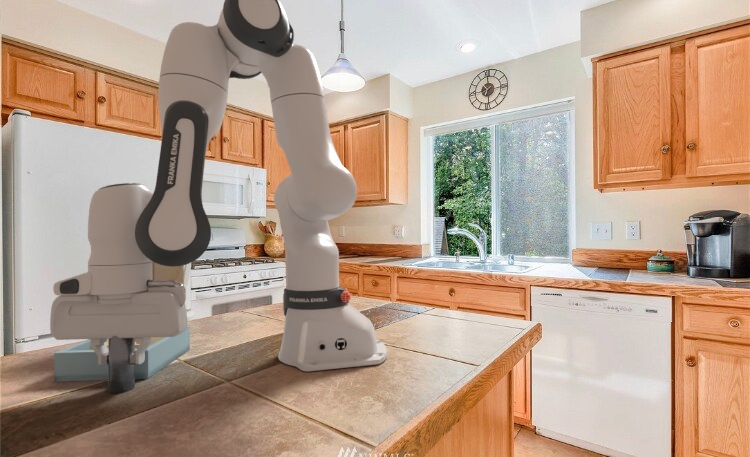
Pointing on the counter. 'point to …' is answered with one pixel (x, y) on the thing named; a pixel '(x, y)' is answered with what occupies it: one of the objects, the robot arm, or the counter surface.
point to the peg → (120, 364)
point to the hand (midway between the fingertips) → (121, 363)
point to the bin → (84, 365)
